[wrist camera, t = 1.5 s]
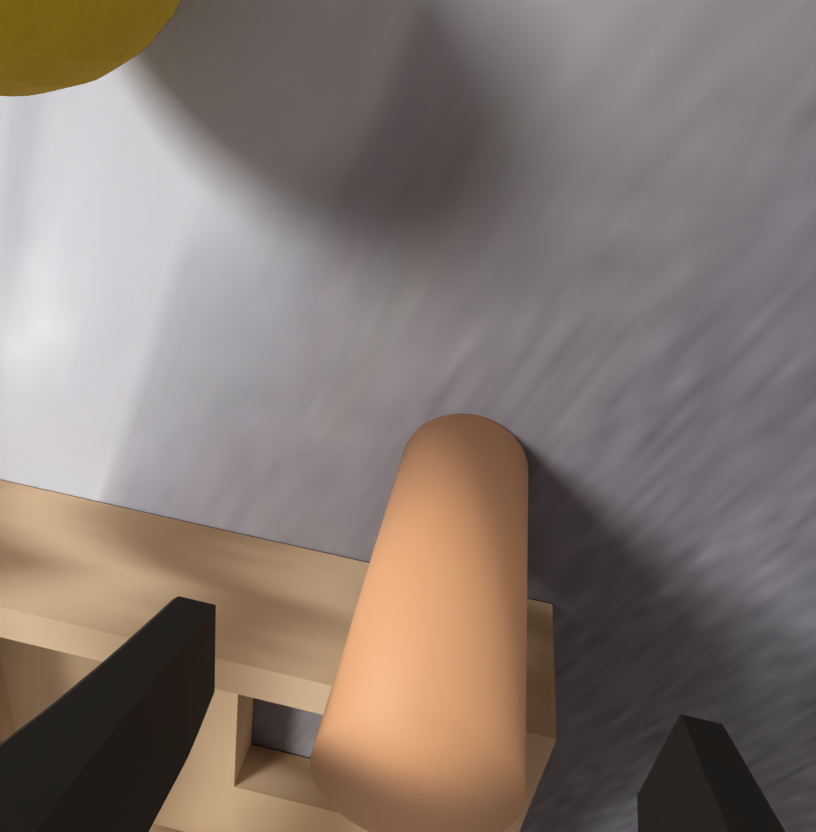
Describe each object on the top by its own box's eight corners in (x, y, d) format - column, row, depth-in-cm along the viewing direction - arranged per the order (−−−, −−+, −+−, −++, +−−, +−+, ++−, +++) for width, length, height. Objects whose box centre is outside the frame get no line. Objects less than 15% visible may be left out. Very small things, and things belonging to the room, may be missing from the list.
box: (31, 762, 26) (-47, 877, 22) (-26, 474, 19) (-149, 571, 16) (459, 870, 25) (447, 1008, 21) (552, 604, 18) (556, 739, 15)
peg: (394, 506, 17) (302, 818, 10) (412, 401, 16) (320, 686, 9) (512, 531, 17) (499, 867, 10) (542, 429, 16) (549, 740, 9)
